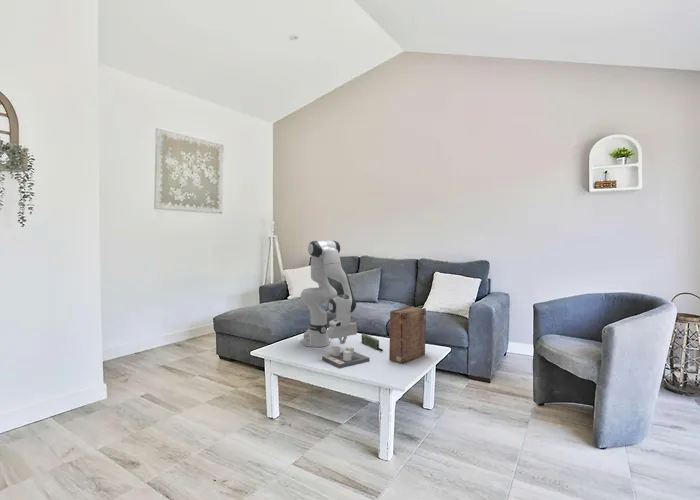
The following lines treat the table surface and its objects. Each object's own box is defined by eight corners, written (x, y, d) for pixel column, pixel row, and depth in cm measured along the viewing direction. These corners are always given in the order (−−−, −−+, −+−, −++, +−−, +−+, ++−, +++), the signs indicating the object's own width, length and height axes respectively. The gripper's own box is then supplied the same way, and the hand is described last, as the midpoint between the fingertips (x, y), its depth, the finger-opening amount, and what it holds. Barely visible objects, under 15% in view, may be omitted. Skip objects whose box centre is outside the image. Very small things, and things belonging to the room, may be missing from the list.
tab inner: (332, 355, 234) (332, 347, 234) (337, 354, 236) (337, 346, 236) (335, 356, 232) (335, 348, 232) (340, 355, 234) (340, 347, 234)
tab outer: (343, 360, 226) (343, 351, 225) (347, 358, 228) (348, 350, 227) (346, 361, 223) (346, 352, 223) (351, 360, 225) (351, 351, 225)
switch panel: (322, 359, 232) (322, 356, 232) (351, 353, 245) (351, 350, 245) (339, 368, 218) (339, 364, 218) (369, 361, 231) (369, 357, 231)
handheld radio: (365, 342, 272) (384, 352, 250) (361, 343, 271) (380, 352, 249) (364, 333, 272) (384, 341, 250) (360, 333, 271) (380, 342, 248)
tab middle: (345, 355, 234) (346, 347, 233) (350, 354, 236) (350, 346, 235) (349, 357, 231) (349, 348, 231) (353, 356, 233) (353, 347, 233)
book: (412, 351, 252) (414, 305, 251) (425, 354, 245) (426, 307, 244) (389, 360, 233) (390, 311, 232) (401, 364, 227) (402, 313, 226)
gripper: (353, 318, 245) (352, 339, 246) (326, 322, 233) (325, 344, 234) (359, 320, 240) (358, 342, 241) (332, 324, 228) (331, 347, 229)
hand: (342, 343), depth 238 cm, fingers closed
